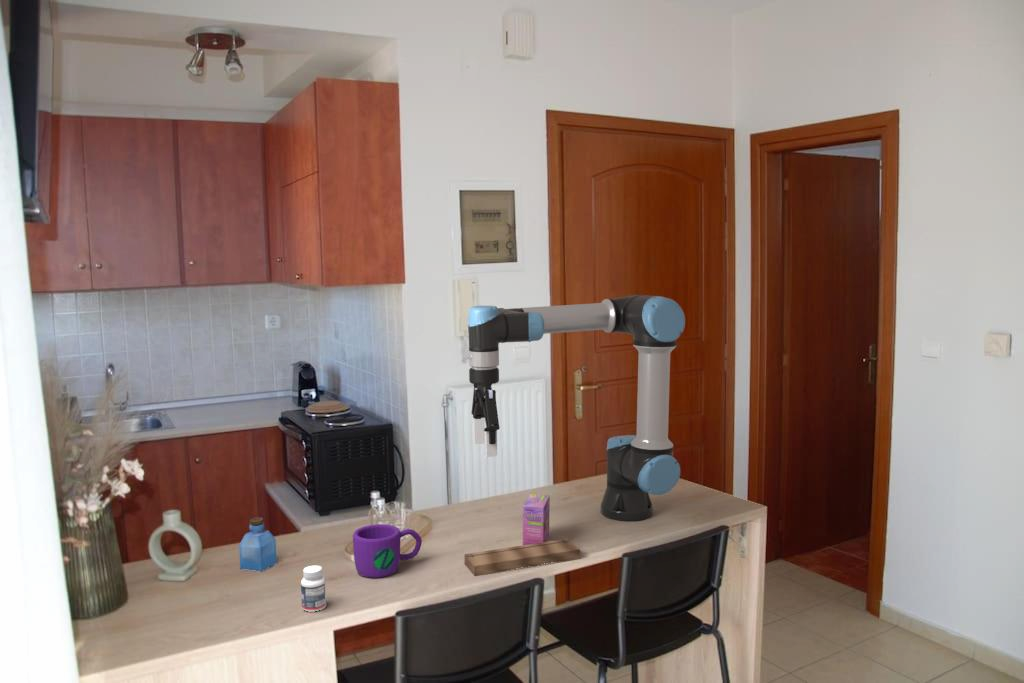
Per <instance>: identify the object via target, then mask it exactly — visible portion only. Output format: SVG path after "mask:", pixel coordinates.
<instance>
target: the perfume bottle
mask: <svg viewBox="0 0 1024 683" xmlns="http://www.w3.org/2000/svg"><path fill="white" fill-rule="evenodd" d="M248 527H249V530H250V531H249V532H247V533H244V536H243V537H242V540H240V543H239V544H238V550H239V551H238V552H239V569H240V570H242V569H249V570H256V571H263V570H264V571H266V570H268V569H269V568H271V567H273V566H274V565H276V564H277V562H278V561H277V542H276V541H277V540H276V538H275V537H274V535H273V534H272V533H271V532H270V530H265V523H264V518H263V517H252V518H250V519H249V526H248ZM275 563H276V564H275ZM270 566H271V567H270ZM268 567H269V568H268ZM267 568H268V569H267ZM265 569H266V570H265ZM249 570H248V571H249ZM256 571H255V572H256ZM264 571H263V572H264Z"/></svg>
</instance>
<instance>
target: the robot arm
mask: <svg viewBox="0 0 1024 683" xmlns="http://www.w3.org/2000/svg"><path fill="white" fill-rule="evenodd" d="M467 319H468V320H467V328H468V332H467V333H468V353H469V354H467V355H466V358H467V360H469V361H468V365H469V367H470V368H469V369H468V370H469V371H468V373H469V374H468V377H469V378H468V381H469V383H470V384H472V385H473V394H472V404H471V416H472V418H473V444H474V445H481V444H483V445H484V444H485V457H486V458H491V457H498V430H500V421H499V414H498V407H497V397H496V396H497V394H496V393H497V391H496V390H495V389H492V385H493V384H494V385H495V384H497V383H499V381H500V369H499V367H498V366H500V350H499V346H500V343H501V344H504V343H522V342H523V343H525V342H528V343H531V342H537V341H540V340H541V339H542V338H543V337H544V334H557V333H558V334H559V333H572V332H574V333H575V332H586V331H602V330H603V331H604V332H605V333H607V334H608V333H609V334H610V333H618V334H619V333H620V334H627V335H632V336H633V337H632V343H633V344H632V346H633V347H634V348H635V349H636V350H637V351H638V355H637V356H638V357H637V358H638V360H637V361H638V363H637V365H638V366H637V399H636V402H637V403H636V406H637V407H636V435H635V434H634V435H633V434H625V435H616V436H612V437H610V438H608V439H607V443H606V489H605V491H604V494H603V498H602V500H601V503H600V514H601V515H602V516H604V517H605V518H609V519H611V520H616V521H625V522H636V521H642V520H646V519H649V518H650V517H652V515H653V504H652V501H651V497H650V495H653V496H662V495H665V494H667V493H669V492H670V491H672V489H673V488H674V487H675V486H676V485H677V484H678V482H679V480H680V477H681V466H680V464H679V462H678V460H677V459H676V458H675V457H674V444H673V442H672V441H671V440H670V438H669V416H670V415H669V414H670V411H669V410H670V379H671V378H670V374H671V373H670V372H671V353H672V351H673V350H675V349H676V348H677V339H678V338H680V336H681V334H683V332H684V329H685V327H686V317H685V313H684V311H683V309H682V306H680V304H678V302H676V301H675V300H674V299H672V298H668V297H665V296H662V295H661V296H659V295H645V294H633V295H628V296H621V297H616V298H615V297H614V298H605V299H603V300H602V301H601V302H594V303H581V304H578V303H576V304H566V305H565V304H564V305H563V304H562V305H561V304H560V305H549V306H547V305H546V306H529V307H519V308H503V307H497V306H496V305H475V306H471V307H469V309H468V317H467ZM485 426H486V427H485ZM649 494H650V495H649Z"/></svg>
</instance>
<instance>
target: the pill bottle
mask: <svg viewBox="0 0 1024 683" xmlns="http://www.w3.org/2000/svg"><path fill="white" fill-rule="evenodd" d="M302 573H303V574H302V575H303V577H302V579H301V580H300V590H301V591H300V592H301V594H300V595H301V609H302V610H303V611H304V610H305V611H304V612H306V611H308V612H307V613H316V612H315V611H317V612H320V611H323V610H324V609H325V608H326V607H327V593H326V591H327V590H326V578H325V577H324V576H323V568H322V566H321V565H316V564H315V565H309V566H305V567H304V568H303V572H302ZM319 610H320V611H319Z"/></svg>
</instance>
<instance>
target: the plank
mask: <svg viewBox="0 0 1024 683" xmlns="http://www.w3.org/2000/svg"><path fill="white" fill-rule="evenodd" d="M463 558H464V559H463V560H464V565H465V566H466V568H467V569H468V570H469V571H470V572H471V574H472V575H473V576H474V577H478V576H483V575H488V574H489V575H491V574H496V573H495V572H497V573H501V572H502V571H503V572H508V571H507V570H509V571H512V570H511V569H515V570H517V569H516V568H521V567H527V568H529V567H528V566H533V567H538V566H537V565H539V566H542V565H541V564H544V563H545V565H547V564H546V563H551V562H558V563H560V562H559V561H564V562H568V561H569V562H570V561H574V560H575V561H576V560H580V559H581V549H580V548H579V547H578V546H576V545H575V544H574V543H573V542H572V541H570V540H569V539H568V538H561V539H556V540H548V541H547V542H542V543H535V544H529V545H523V544H522V545H517V546H510V547H509V546H508V547H505V548H498V549H490V550H483V551H477V552H472V553H464V557H463ZM521 569H522V568H521Z"/></svg>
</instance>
